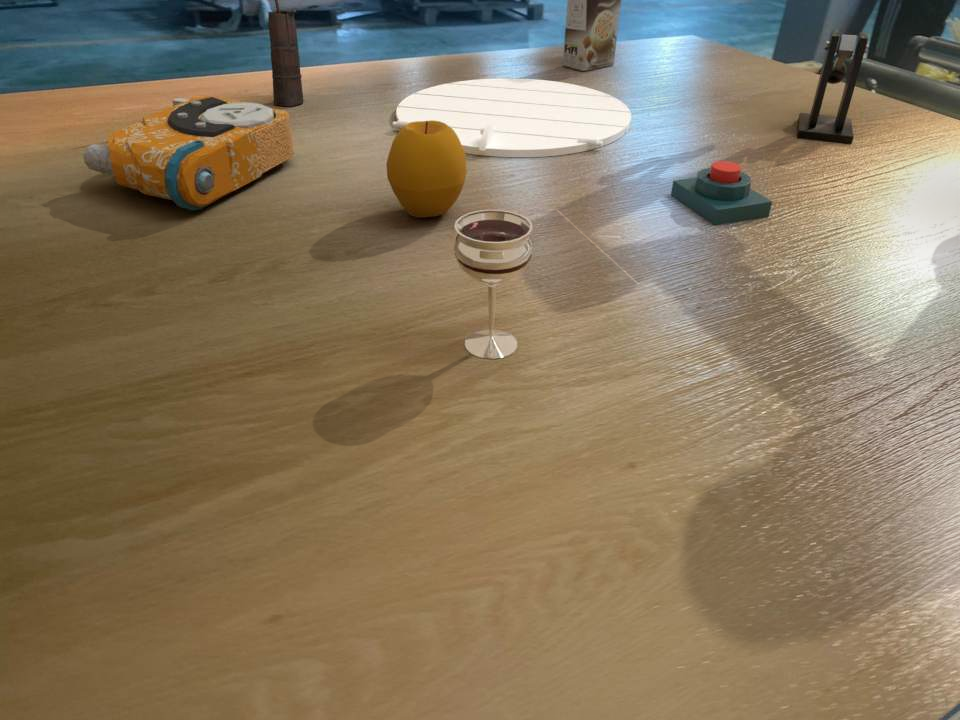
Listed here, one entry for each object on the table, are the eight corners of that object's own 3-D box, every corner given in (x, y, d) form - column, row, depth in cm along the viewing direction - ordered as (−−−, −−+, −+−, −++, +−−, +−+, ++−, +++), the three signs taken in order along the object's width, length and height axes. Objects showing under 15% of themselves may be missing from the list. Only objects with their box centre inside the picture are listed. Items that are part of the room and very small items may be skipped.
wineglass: (493, 316, 75) (496, 203, 68) (542, 345, 71) (550, 227, 64) (440, 341, 72) (437, 223, 65) (488, 373, 67) (490, 251, 61)
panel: (768, 217, 95) (776, 187, 93) (714, 226, 93) (720, 195, 91) (721, 188, 103) (727, 159, 101) (670, 196, 101) (675, 167, 98)
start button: (744, 182, 95) (747, 169, 94) (720, 186, 94) (722, 172, 93) (727, 172, 98) (729, 159, 97) (703, 176, 97) (705, 162, 96)
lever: (819, 86, 128) (823, 64, 128) (842, 88, 127) (846, 66, 127) (832, 53, 115) (837, 29, 115) (858, 55, 114) (863, 31, 114)
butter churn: (333, 100, 135) (315, -82, 119) (294, 114, 128) (270, -77, 112) (296, 92, 139) (273, -85, 123) (256, 104, 132) (227, -81, 116)
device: (39, 130, 95) (204, 74, 118) (59, 193, 100) (214, 127, 122) (179, 158, 87) (327, 92, 110) (194, 224, 92) (333, 148, 115)
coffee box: (584, 72, 152) (591, -17, 143) (561, 65, 156) (567, -21, 147) (615, 65, 157) (624, -21, 148) (592, 59, 161) (600, -25, 152)
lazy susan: (614, 171, 108) (617, 147, 106) (357, 144, 116) (355, 122, 114) (640, 94, 140) (643, 74, 138) (437, 77, 148) (437, 59, 146)
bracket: (797, 119, 128) (821, 25, 120) (848, 125, 126) (876, 29, 118) (797, 138, 120) (821, 38, 112) (851, 144, 118) (880, 43, 110)
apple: (425, 238, 90) (421, 140, 83) (372, 214, 95) (365, 120, 88) (482, 214, 95) (483, 120, 89) (429, 192, 101) (427, 103, 94)
